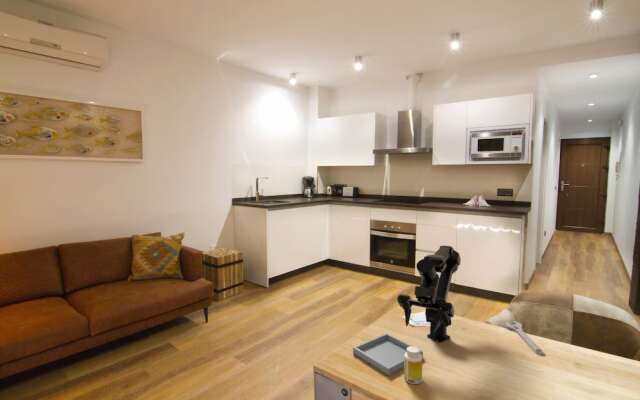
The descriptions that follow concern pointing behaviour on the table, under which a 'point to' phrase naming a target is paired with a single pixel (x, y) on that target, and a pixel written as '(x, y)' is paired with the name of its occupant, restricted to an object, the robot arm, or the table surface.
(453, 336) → the table surface
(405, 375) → the supplement bottle
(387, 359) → the tray
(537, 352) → the adjustable wrench
